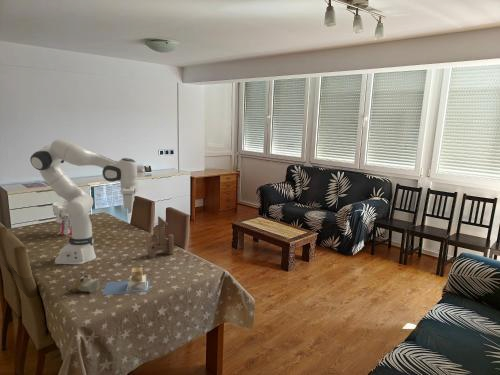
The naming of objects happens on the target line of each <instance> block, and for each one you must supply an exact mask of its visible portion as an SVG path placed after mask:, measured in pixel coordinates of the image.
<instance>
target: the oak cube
mask: <svg viewBox="0 0 500 375" xmlns="http://www.w3.org/2000/svg"><path fill="white" fill-rule="evenodd" d="M130 273H131V274H130V276H132V281H142V277H143V275H144V274H143V267H142V266H140V267H132V268H131V272H130Z"/></svg>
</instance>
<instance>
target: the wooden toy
mask: <svg viewBox="0 0 500 375" xmlns="http://www.w3.org/2000/svg"><path fill="white" fill-rule="evenodd" d="M165 226H169V223H168V222H166V221H165V220H164V219H163V218H162V217H160V216H159V215H158V216H157V224H155V225H154V227H153V229H152V235H150V244H149V245H147V246H146V251H147V254H146V255H147V257H149V258H150V259H154V258H157V252H158V251H162V253H163V254H165V255H167V254H168V255H170V256H171V255H174V234H168V238H167V237H166V235H165Z"/></svg>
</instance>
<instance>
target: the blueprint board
mask: <svg viewBox="0 0 500 375" xmlns="http://www.w3.org/2000/svg"><path fill="white" fill-rule="evenodd" d="M128 283H129V280H122V281H107V282H106V283H105V285H104V289H103V292H102V294H101V295H102V296H109V295H110V296H111V295H123V294H137V293H139V294H140V293H150V288H151V286H150V285H151V279H146V288H145V289H142V290H129V284H128Z"/></svg>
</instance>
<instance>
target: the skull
mask: <svg viewBox="0 0 500 375" xmlns="http://www.w3.org/2000/svg"><path fill="white" fill-rule="evenodd" d="M68 203H69V202H68V201H67V200H65V199H64V200H58V201H54V202H52V211H53V216H55V217H56V218H55V219H56V220H55V221H56V223H57V224H59V226H60V231H59V232H57V234H56V235H57V236H58V235H61V237H63V236H64V235H65V236H66V235H67V236H68V235H69V234H70V236H71V235H72V228H71V222H70V218H69V215H68V214H67V212H66V207H67V205H68Z"/></svg>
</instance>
